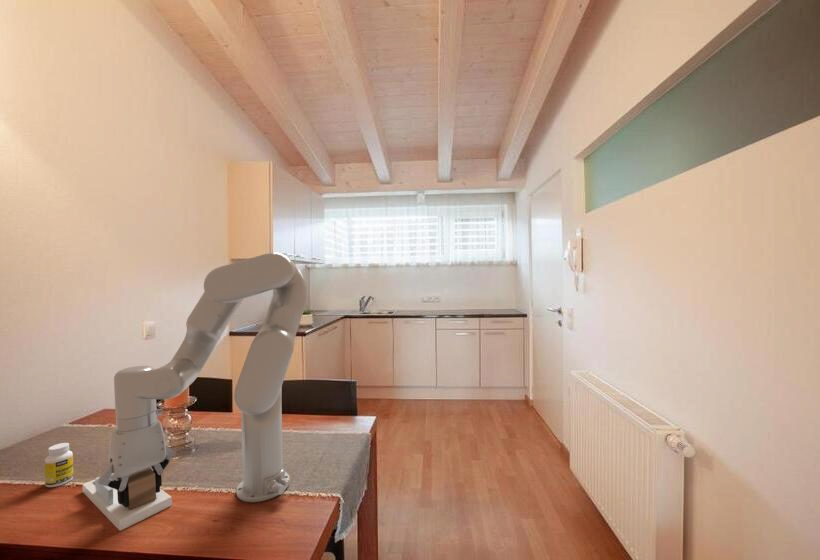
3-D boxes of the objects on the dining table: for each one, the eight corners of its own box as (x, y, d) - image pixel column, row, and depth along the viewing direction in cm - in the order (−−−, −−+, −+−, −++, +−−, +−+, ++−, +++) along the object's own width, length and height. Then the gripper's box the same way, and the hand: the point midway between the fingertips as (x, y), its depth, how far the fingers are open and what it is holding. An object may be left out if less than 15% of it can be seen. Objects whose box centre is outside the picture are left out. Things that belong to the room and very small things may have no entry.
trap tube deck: (172, 505, 84) (171, 482, 84) (119, 530, 76) (119, 505, 75) (130, 473, 98) (129, 453, 98) (82, 491, 90) (82, 470, 90)
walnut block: (156, 499, 83) (155, 473, 83) (129, 510, 79) (128, 483, 79) (150, 491, 86) (149, 466, 86) (124, 501, 82) (123, 476, 82)
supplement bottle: (55, 489, 92) (54, 451, 92) (39, 487, 93) (38, 450, 93) (79, 477, 97) (77, 442, 97) (63, 475, 98) (62, 440, 98)
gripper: (171, 405, 91) (174, 475, 91) (83, 431, 77) (87, 513, 77) (184, 411, 87) (188, 483, 87) (94, 439, 73) (98, 526, 73)
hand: (140, 496), depth 82 cm, fingers closed on walnut block, 5 cm apart
